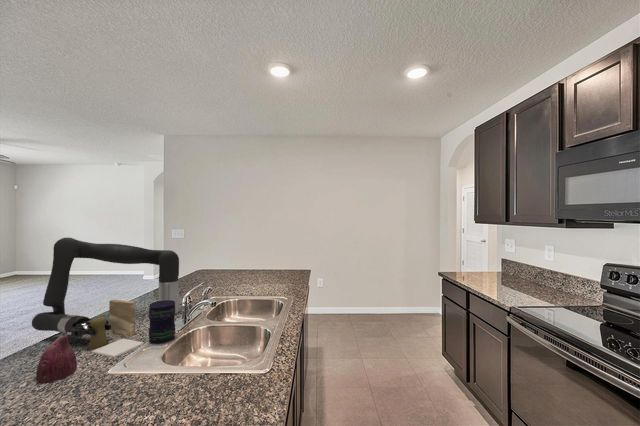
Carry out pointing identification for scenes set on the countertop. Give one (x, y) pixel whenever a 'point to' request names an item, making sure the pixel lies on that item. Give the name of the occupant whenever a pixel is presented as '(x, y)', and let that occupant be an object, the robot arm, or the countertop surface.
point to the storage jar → (162, 321)
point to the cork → (98, 333)
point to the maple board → (122, 317)
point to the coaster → (118, 347)
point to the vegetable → (56, 361)
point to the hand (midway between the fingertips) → (103, 330)
